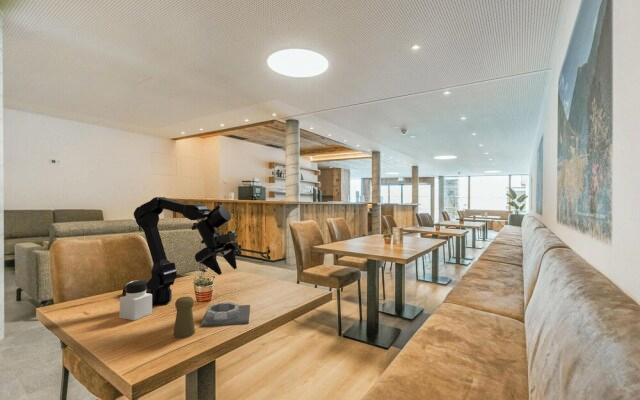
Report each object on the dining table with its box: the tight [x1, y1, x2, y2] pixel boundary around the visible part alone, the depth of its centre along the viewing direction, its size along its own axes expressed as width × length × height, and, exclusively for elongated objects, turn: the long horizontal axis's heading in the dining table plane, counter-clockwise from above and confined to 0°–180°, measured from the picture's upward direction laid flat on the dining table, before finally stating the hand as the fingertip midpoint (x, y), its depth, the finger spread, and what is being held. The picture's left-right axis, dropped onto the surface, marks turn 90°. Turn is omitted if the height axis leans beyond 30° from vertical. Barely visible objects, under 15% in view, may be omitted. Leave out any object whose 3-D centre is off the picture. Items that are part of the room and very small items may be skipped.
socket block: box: [200, 301, 251, 327], centre depth 106 cm, size 15×15×4 cm
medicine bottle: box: [119, 279, 153, 322], centre depth 106 cm, size 7×7×12 cm
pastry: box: [122, 279, 151, 296], centre depth 131 cm, size 11×12×6 cm
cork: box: [173, 296, 196, 339], centre depth 92 cm, size 6×6×11 cm
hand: (228, 271), depth 110 cm, fingers open, 9 cm apart
